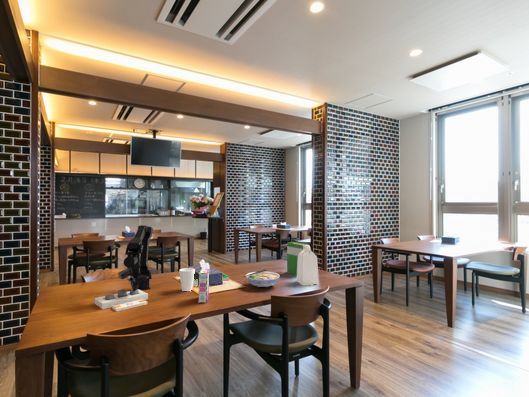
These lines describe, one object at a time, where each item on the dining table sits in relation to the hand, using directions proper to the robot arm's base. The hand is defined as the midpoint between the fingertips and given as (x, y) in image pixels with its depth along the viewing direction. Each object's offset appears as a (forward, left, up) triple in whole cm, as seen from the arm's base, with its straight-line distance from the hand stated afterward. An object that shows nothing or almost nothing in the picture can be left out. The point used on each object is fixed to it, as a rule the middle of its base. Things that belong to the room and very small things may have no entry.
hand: (134, 291), depth 173 cm
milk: (-100, +47, -4) cm, 111 cm away
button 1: (+13, 0, -3) cm, 13 cm away
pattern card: (+7, +11, -4) cm, 13 cm away
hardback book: (-116, +26, -4) cm, 119 cm away
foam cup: (-30, +6, -4) cm, 31 cm away
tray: (-52, -6, -5) cm, 53 cm away
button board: (+7, 0, -4) cm, 8 cm away
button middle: (+6, 0, -2) cm, 7 cm away
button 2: (0, 0, -3) cm, 4 cm away
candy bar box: (-27, +29, -4) cm, 40 cm away
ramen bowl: (-71, +32, -4) cm, 78 cm away
